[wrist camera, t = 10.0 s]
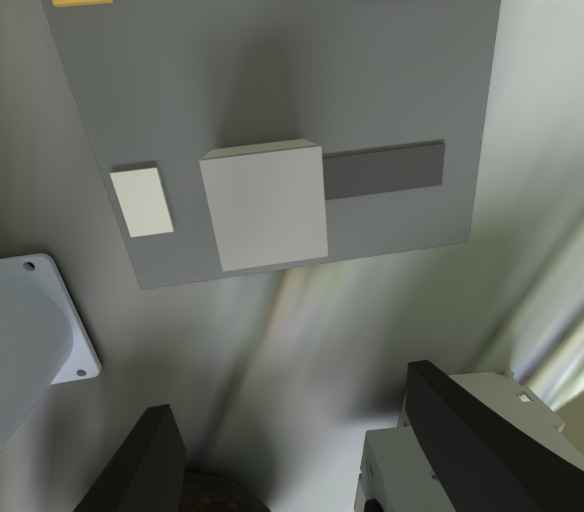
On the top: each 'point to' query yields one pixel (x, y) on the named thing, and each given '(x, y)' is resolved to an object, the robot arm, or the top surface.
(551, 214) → the top surface
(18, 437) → the top surface
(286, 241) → the slider
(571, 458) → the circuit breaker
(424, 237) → the switch console
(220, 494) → the glass bottle
